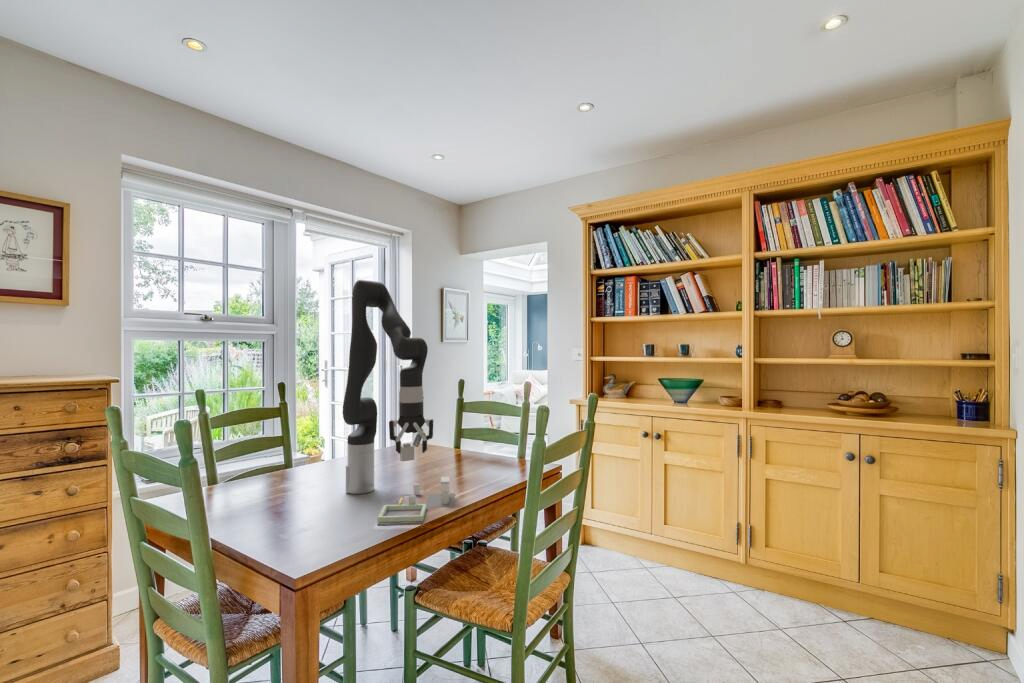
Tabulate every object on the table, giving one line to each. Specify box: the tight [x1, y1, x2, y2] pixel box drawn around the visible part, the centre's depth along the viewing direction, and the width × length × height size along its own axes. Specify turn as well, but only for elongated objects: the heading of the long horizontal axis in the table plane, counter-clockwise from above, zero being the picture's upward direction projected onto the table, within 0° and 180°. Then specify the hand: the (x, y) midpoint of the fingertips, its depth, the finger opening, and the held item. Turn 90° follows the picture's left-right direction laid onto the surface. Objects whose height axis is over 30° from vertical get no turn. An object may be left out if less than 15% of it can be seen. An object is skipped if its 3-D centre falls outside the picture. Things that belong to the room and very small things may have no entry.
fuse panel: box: [397, 483, 456, 509], centre depth 161 cm, size 18×14×5 cm
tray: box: [376, 503, 427, 527], centre depth 147 cm, size 13×11×2 cm
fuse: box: [440, 476, 451, 503], centre depth 161 cm, size 3×6×7 cm, turn 5°
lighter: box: [399, 432, 423, 462], centre depth 155 cm, size 7×2×8 cm, turn 125°
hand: (411, 452), depth 155 cm, fingers closed on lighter, 7 cm apart
